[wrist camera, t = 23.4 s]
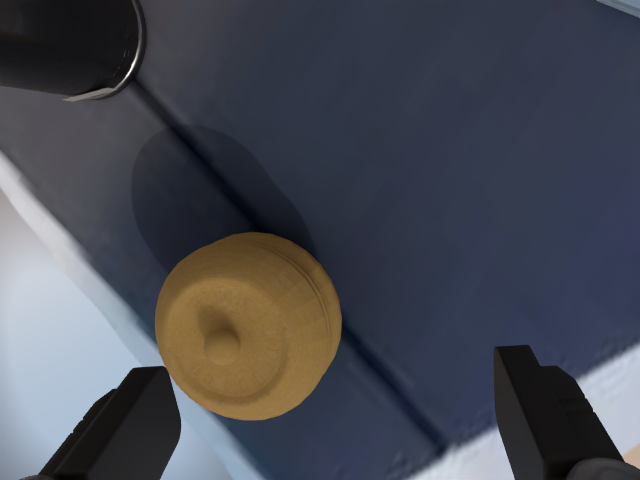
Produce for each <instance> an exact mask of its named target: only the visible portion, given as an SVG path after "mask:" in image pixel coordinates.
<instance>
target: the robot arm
mask: <svg viewBox="0 0 640 480" xmlns="http://www.w3.org/2000/svg"><path fill="white" fill-rule="evenodd" d="M145 48H146V24H145V18H144V14H143V11H142V8H141V6H140V3H139V1H138V0H0V86H6V87H13V88H20V89H27V90H34V91H41V92H47V93H53V94H60V95H68V96H72V97H71V98H67V99H64V100H66V101H77V100H81V99H86V100H100V99H105V98H109V97H111V96H113V95H115V94H117V93H119V92H120V91H122V90H123V89H124V88H125V87H126V86H127V85H128V84H129V83H130V82H131V81H132V80H133V78H134V77H135V75H136V74H137V72H138V70H139V68H140V66H141V63H142V60H143V57H144V53H145ZM494 391H495V411H496V418H497V423H498V428H499V432H500V435H501V438H502V441H503V444H504V447H505V450H506V453H507V456H508V459H509V462H510V465H511V468H512V472H513V475H514V478H515V480H640V469H638V468H636V467H635V466H633V465H630V464H628V463H625V461H624V460H623V458H622V456H621V455H620V453H619V451H618V450H617V448H616V446H615V445H614V443H613V441H612V440H611V438H610V436H609V435H608V433H607V431H606V430H605V428H604V427H603V425H602V423H601V422H600V420H599V418H598V417H597V415H596V413H595V412H593V408H592V407H591V405H590V403H589V402H588V400H587V398H585V395H584V394H583V392H582V390H581V389H580V387H579V385H578V384H577V382H576V380H575V379H574V378H573V377H571V376H570V375H569V374H567V373H566V372H564V371H563V370H562V369H560V368H559V367H558V366H540V365H539V363H538V361H537V359H536V357H535V355H534V353H533V351H532V350H531V348H530V346H529V345H517V346H501V347H495V348H494ZM180 433H181V417H180V413H179V409H178V406H177V402H176V398H175V394H174V391H173V387H172V383H171V379H170V376H169V373H168V370H167V369H166V368H165V367H164V366H154V367H138V368H133V369H132V370H131V371H130V372H129V373H128V375H127V376H126V377H125V379H124V380H123V381H122V383H121V384H120V385H119V387H118V388H117V389H112V390H111V391H110V392H108V393H107V394H106V395H104V396H103V397H102V398H100V399H99V400H98V401H96V402H95V403H94V404H93V406H92V407H91V408H90V409H89V411H88V412H87V413H86V414H85V416H84V417H83V420H82V421H80V422H79V423H78V425H77V426H76V427H75V428H74V430H73V433H71V434H70V435H69V436H68V437H67V438H66V440H65V441H64V442H63V444H62V445H61V446H60V447H59V449H58V450H57V451H56V453H55V454H54V455H53V456H52V458H51V459H50V460H49V461H48V463H47V464H46V465H45V466H44V468H43V469H42V470H41V472H40V473H39V474H38V475H34V476H29V477H25V478H22V479H20V480H160V478H161V476H162V474H163V472H164V470H165V468H166V466H167V464H168V461H169V460H170V458H171V456H172V454H173V452H174V450H175V448H176V446H177V444H178V441H179V438H180Z"/></svg>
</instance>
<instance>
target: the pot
mask: <svg viewBox="0 0 640 480" xmlns="http://www.w3.org/2000/svg"><path fill="white" fill-rule="evenodd" d="M341 324H342V317H341V311H340V304H339V298H338V296H337V293H336V291H335V288H334V285H333V283H332V280H331V279H330V277H329V276H328V274H327V273H326V272H325V270H324V269H323V267H322V266H321V264H320V263H319V262H318V261H317V260H316V259H315V258H314V257H312V256H311V255H310V254H309V253H308V252H307V251H306V250H304V249H303V248H301V247H300V246H298V245H297V244H295V243H293V242H292V241H290V240H287V239H284V238H282V237H279V236H276V235H273V234H269V233H259V232H247V233H240V234H233V235H231V236H228V237H225V238H223V239H220V240H218V241H215V242H214V243H212V244H210V245H207V246H204V247H202V248H199V249H198V250H196V251H194V252H193V253H191V254H190V255H188V256H187V257H186V258H184V259H183V260H181V261H180V262H179V263H178V264H177V265H176V267H175V268H174V269H173V270H172V271H171V273H170V274H169V275H168V276H167V278H166V281H165V283H164V285H163V287H162V289H161V291H160V293H159V297H158V302H157V306H156V311H155V334H156V339H157V344H158V348H159V353H160V355H161V357H162V360H163V362H164V364H165V367H166V369H167V370H168V372H169V374H170V375H171V377H172V378H173V380H174V381H175V383H176V384H177V385H178V386H179V387H180V388H181V390H182V391H183V392H184V393H185V394H186V395H187V396H188V397H189V398H191V399H192V400H193V401H195V402H196V403H198V404H199V405H201V406H202V407H204V408H205V409H208V410H210V411H213V412H215V413H217V414H220V415H222V416H225V417H230V418H235V419H240V420H265V419H268V418H272V417H276V416H279V415H282V414H284V413H285V412H287V411H289V410H291V409H293V408H294V407H296V406H298V405H299V404H300V403H301V402H302V401H303V400H304V399H305V398H306V397H307V396H308V395H309V394H310V393H311V392H312V391H313V390H314V389H315V387H316V385H317V384H318V382H319V381H320V379H321V377H322V376H323V374H324V373H325V371H326V370H327V368H328V367H329V365H330V363H331V362H332V360H333V359H334V357H335V354H336V351H337V348H338V345H339V342H340V339H341Z"/></svg>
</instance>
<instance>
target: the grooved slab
mask: <svg viewBox="0 0 640 480" xmlns="http://www.w3.org/2000/svg"><path fill="white" fill-rule="evenodd" d="M596 1H598V2H601V3H603V4H606V5H608V6H611V7H613V8H616V9H618V10H621V11H624V12H626V13H629V14H631V15H634V16H636V17H639V18H640V0H596Z"/></svg>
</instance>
